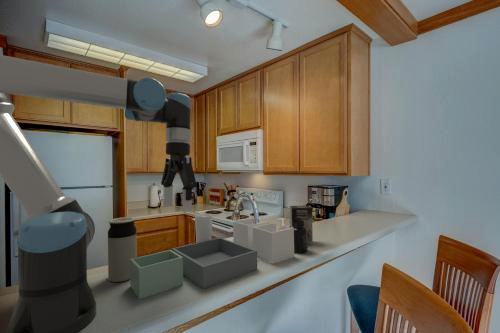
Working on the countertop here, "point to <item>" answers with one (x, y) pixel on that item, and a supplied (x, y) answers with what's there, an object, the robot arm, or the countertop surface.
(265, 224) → the white cubby shelf
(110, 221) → the travel mug
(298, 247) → the supplement bottle
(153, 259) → the box
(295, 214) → the coffee box
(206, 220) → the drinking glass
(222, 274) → the big crate
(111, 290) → the countertop surface
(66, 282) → the robot arm
